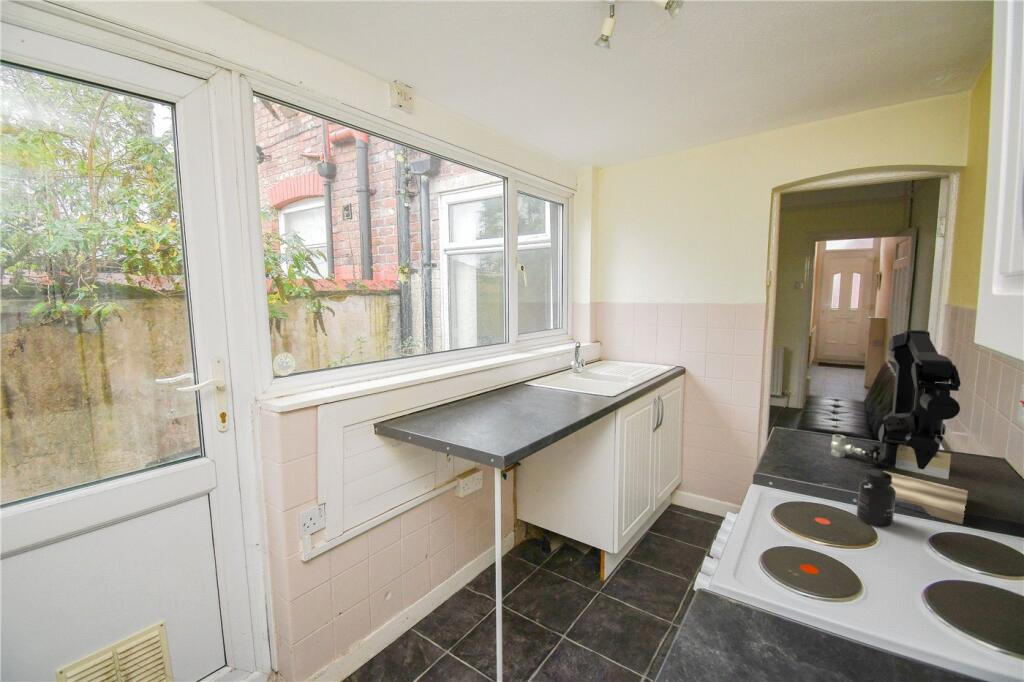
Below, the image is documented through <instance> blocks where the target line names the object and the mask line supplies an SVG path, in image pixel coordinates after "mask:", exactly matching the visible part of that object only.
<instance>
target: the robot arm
mask: <svg viewBox="0 0 1024 682" xmlns="http://www.w3.org/2000/svg"><path fill="white" fill-rule="evenodd" d="M888 351H889V352H890V357H891V358H892V360H893V362H894V363H895V365H896V366H895V377H894V379H895V380H894V387H893V388H894V390H893V398H892V399H893V400H892V410H891V412H888V414H886V415H884V416H883V418H882V419H883V423H882V424H881V426H880V428H879V430H878V439H879V442H880V443H881V444H884V447H883V448H884V450H883V454H882V456H881V457H880V459H879V461H880V462H881V463H886V464H891V465H894V466H895V465H896V456H897V449H898V446H899V444H900V445H905V446H908V447H911V448H913V449H914V451H915V456H916V461H917V466H918V468H919V469H925V467H926V466H927V465H928V463H929V462H930V461H931V459H932V458H933V457H934V456H935V454H936V453H937V452H940V451H939V450H940V449H941V443H942V442H943V439H944V436H945V434H946V431H947V425H946V424H945V423H944V420H946V421H947V420H951V419H954V418H955V417H956V416H958V415H959V413H960V411H961V407H960V403H959V402H958V401H957V400H956V399H955V398H954V397H952V396H951V391H954V392H959V391H960V390H959V389H960V388H959V387H960V386H961V384H962V383H961V379H960V374H959V370H958V369H957V366H956V365H955V364H953V361H952V360H951V359H949V357H948V356H946V355H943V354H940V353H939V352H938V351H937V349H936V347H935V345H934V344H933V342H932V340H931V334H930V331H926V330H922V329H921V330H920V329H915V330H914V329H908V330H905V331H903V332H902V333H899V334H895V335H892V336H891V338H890V340H889V342H888ZM914 392H915V393H914Z"/></svg>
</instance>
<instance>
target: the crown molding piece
mask: <svg viewBox="0 0 1024 682" xmlns="http://www.w3.org/2000/svg"><path fill="white" fill-rule="evenodd" d="M882 472H885V473H888V474H890V475H891V476H892V484H891V486H892V487H893V488H894V489H895V491H896V497H895V499H898V500H902V501H906V502H909V503H912V504H916V505H919V506H922V508H924V509H925V511H927V513H928V514H930V515H929V516H932V517H934V518H939V519H942V520H945V521H950V522H954V523H957V524H959V525H963V523H964V519H963V518H964V517H965V513H964V511H966V508H965V506H967V502H966V501H968V496H969V494H968V493H969V490H965V489H962V488H957V487H952V486H950V485H944V484H940V483H936V482H932V481H928V480H924V479H919V478H916V477H910V476H906V475H902V474H898V473H895V472H894V473H893V472H890V471H886V470H883V471H882Z"/></svg>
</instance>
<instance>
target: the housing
mask: <svg viewBox="0 0 1024 682" xmlns="http://www.w3.org/2000/svg"><path fill="white" fill-rule="evenodd" d="M951 457H952V453H947V452H942V451H941V452H940V451H938V452H937V453H936V454H935V456H934V457H933V458H932V459H931V461H930V462H929V463H928V465H927V466H926V467H925V469H919V468H918V466H917V461H916V456H915V451H914V449H913V448H911V447H908V446H905V445H900V444H899V446H898V449H897V456H896V465H894V466H895V467H894V468H895V469H898V470H903V471H908V472H912V473H917V474H923V475H925V476H926V475H927V476H930V477H935V478H940V479H944V480H949V475H950V469H951V468H950V466H951V462H952V461H951V459H952V458H951Z"/></svg>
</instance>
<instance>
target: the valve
mask: <svg viewBox="0 0 1024 682" xmlns="http://www.w3.org/2000/svg"><path fill="white" fill-rule="evenodd" d="M831 439H832V441H831V442H830V449H831V452H830V454H831V455H832V456H833V457H837V458H845V457H846V453H847V454H850V455H852V454H853V453H855V454H857V455H860V456H861V455H864V456H865V457H866V459H867V461H868V462H867V464H868V465H870V466H874V467H875V466H876V463H878V462H879V461H880V459H879V456H880V455H881V451H879V450H880V448H881V447H880V446H878V445H877V444H872V446H871V447H872V448H869V449H868V450H867V449H866V450H863V449H862V448H859V447H855V446H854V444H851V443H847V437H846V436H845V435H843V434H836V433H835V434H832V438H831Z"/></svg>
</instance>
